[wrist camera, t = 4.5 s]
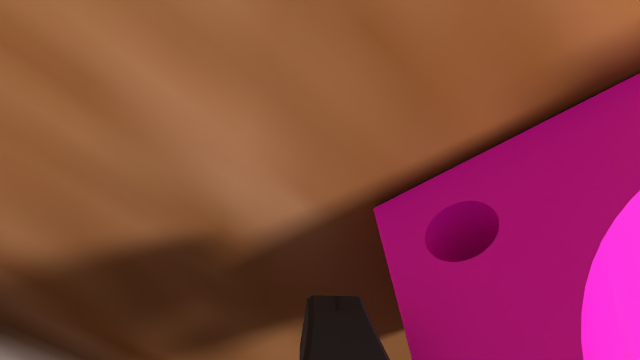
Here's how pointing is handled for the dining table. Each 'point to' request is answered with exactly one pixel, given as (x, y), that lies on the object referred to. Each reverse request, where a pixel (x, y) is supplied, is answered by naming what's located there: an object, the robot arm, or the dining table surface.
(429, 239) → the toy block
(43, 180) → the dining table surface
